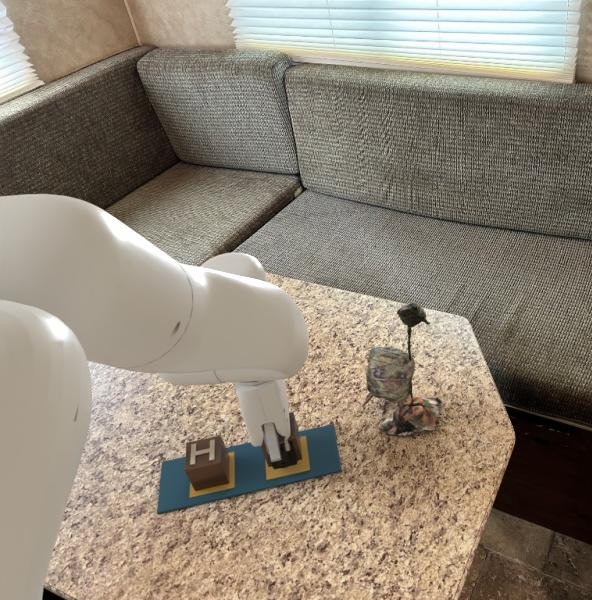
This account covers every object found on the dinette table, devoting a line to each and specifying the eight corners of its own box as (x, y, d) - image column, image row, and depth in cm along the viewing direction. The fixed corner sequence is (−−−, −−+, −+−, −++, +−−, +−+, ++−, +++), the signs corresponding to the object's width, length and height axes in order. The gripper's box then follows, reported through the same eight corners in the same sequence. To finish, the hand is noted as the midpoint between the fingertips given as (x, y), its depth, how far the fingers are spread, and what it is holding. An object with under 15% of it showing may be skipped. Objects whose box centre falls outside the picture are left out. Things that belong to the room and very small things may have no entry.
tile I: (302, 459, 80) (295, 437, 77) (268, 467, 79) (260, 445, 76) (299, 433, 83) (293, 410, 80) (266, 440, 83) (259, 417, 80)
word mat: (342, 471, 81) (341, 469, 80) (157, 514, 78) (156, 512, 77) (334, 425, 87) (333, 423, 86) (162, 463, 84) (161, 461, 83)
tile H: (229, 483, 80) (219, 462, 77) (194, 491, 79) (183, 470, 76) (229, 455, 83) (220, 434, 80) (196, 463, 83) (185, 441, 80)
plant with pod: (376, 387, 92) (360, 284, 79) (449, 402, 88) (445, 296, 75) (356, 429, 86) (336, 325, 73) (433, 446, 83) (426, 340, 70)
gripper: (220, 312, 76) (254, 407, 87) (219, 416, 63) (258, 511, 74) (280, 301, 76) (305, 396, 88) (291, 400, 64) (319, 496, 75)
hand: (283, 448), depth 81 cm, fingers closed on tile I, 4 cm apart
